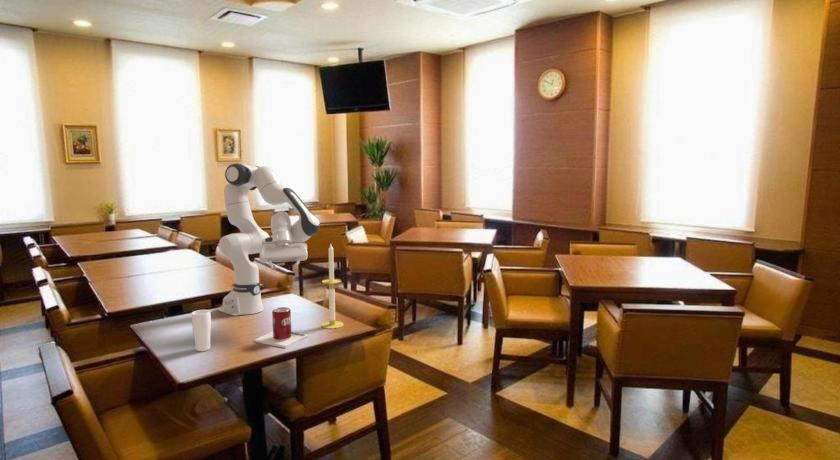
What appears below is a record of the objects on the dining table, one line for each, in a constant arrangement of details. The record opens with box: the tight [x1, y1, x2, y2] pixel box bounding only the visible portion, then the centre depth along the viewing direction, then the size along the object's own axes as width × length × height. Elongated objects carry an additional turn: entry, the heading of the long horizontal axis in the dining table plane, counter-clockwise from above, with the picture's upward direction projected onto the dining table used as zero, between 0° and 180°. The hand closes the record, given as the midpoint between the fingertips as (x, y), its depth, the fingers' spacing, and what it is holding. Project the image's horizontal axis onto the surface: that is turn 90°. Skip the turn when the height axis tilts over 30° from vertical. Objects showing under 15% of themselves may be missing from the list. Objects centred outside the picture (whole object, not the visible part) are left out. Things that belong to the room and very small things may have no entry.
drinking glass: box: [191, 309, 212, 352], centre depth 188 cm, size 7×7×15 cm
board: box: [254, 331, 309, 349], centre depth 200 cm, size 16×14×1 cm
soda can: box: [271, 306, 292, 341], centre depth 198 cm, size 7×7×12 cm
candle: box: [320, 243, 345, 330], centre depth 216 cm, size 10×10×38 cm
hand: (285, 268), depth 207 cm, fingers open, 8 cm apart
